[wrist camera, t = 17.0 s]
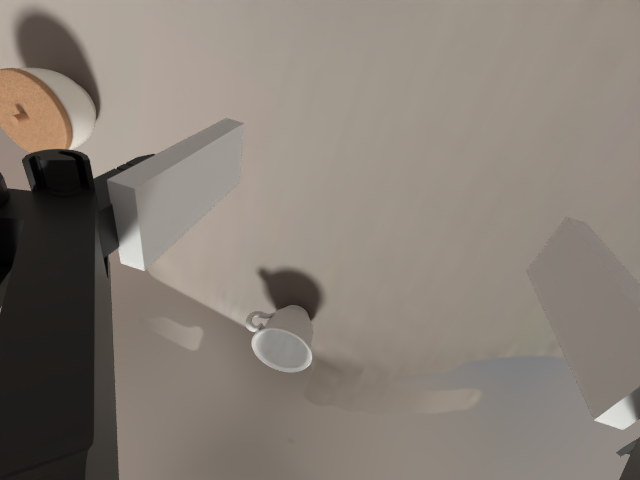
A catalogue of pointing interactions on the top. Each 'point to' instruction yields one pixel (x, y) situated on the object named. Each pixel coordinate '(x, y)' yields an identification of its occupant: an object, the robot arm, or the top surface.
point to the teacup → (283, 338)
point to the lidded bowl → (44, 109)
